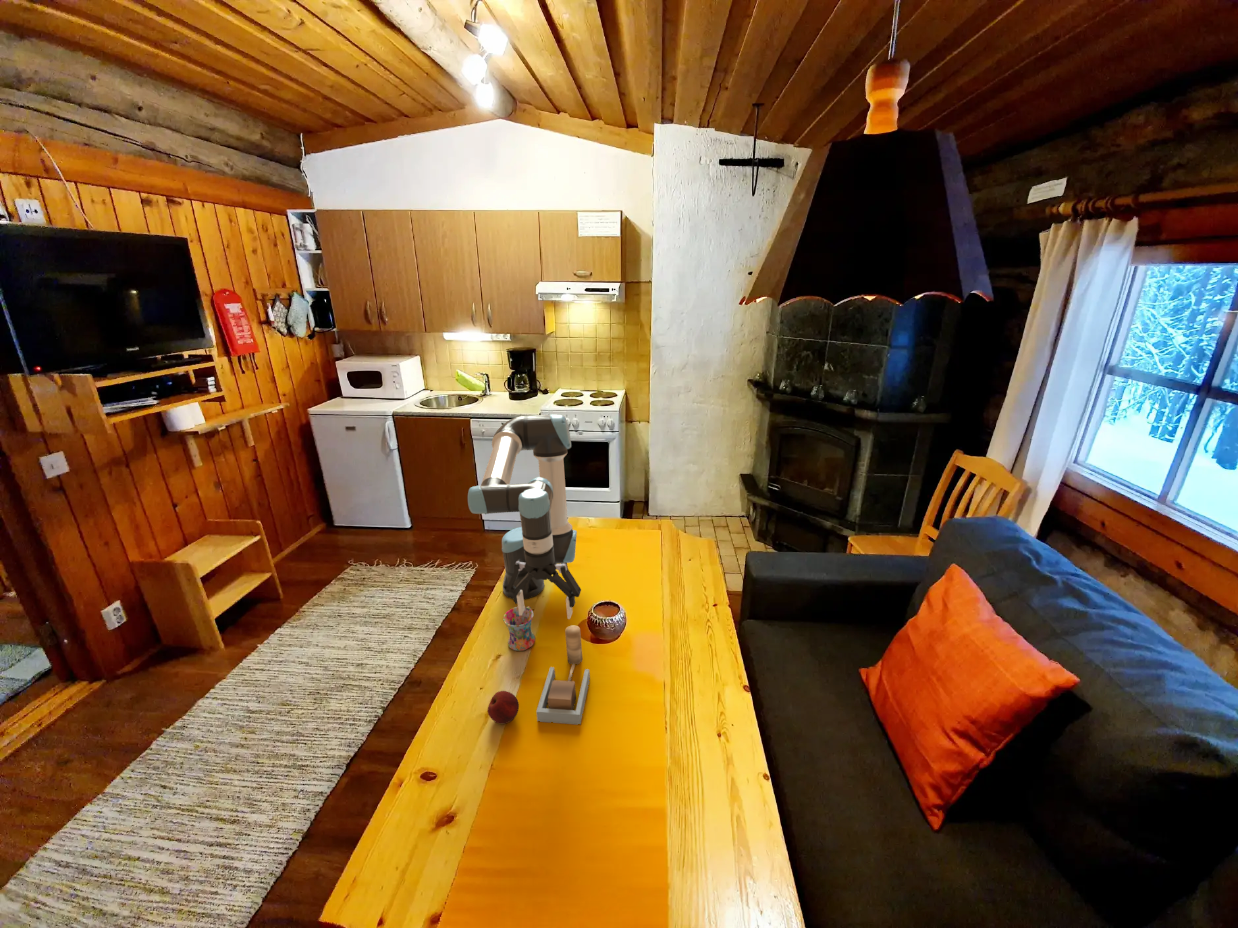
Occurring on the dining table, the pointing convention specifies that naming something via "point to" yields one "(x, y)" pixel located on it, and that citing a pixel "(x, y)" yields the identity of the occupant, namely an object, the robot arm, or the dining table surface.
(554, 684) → the tethered block
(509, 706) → the apple
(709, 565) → the dining table surface
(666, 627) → the dining table surface
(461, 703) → the dining table surface
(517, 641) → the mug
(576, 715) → the grey u-shaped frame
